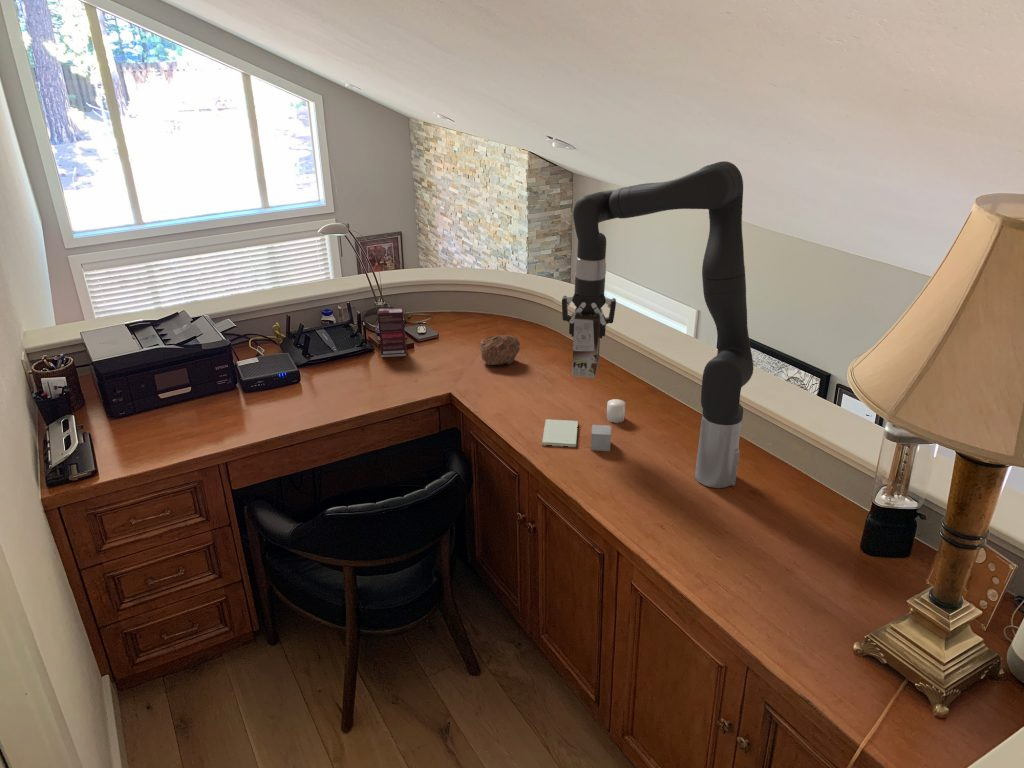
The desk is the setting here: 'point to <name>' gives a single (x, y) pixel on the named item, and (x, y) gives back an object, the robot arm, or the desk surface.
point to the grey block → (601, 437)
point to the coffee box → (586, 345)
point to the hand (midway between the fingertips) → (587, 336)
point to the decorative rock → (499, 349)
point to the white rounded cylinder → (615, 410)
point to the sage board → (560, 433)
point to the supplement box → (392, 332)
